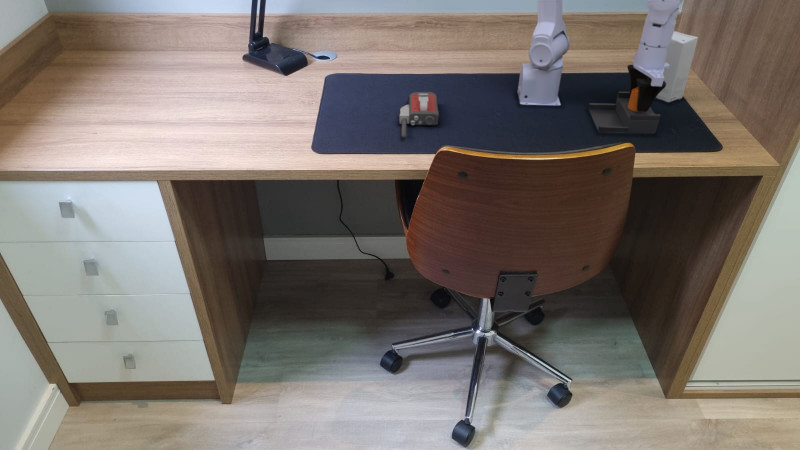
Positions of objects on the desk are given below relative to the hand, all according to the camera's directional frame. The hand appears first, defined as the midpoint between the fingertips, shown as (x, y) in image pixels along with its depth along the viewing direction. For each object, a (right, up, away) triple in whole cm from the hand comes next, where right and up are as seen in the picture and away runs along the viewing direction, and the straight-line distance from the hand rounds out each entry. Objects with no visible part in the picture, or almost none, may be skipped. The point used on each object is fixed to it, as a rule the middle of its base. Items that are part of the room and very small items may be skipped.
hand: (638, 104), depth 123 cm
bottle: (0, -1, +1) cm, 1 cm away
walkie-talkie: (-48, -3, +4) cm, 48 cm away
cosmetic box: (+11, +5, +14) cm, 19 cm away
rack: (-3, -3, +3) cm, 5 cm away
